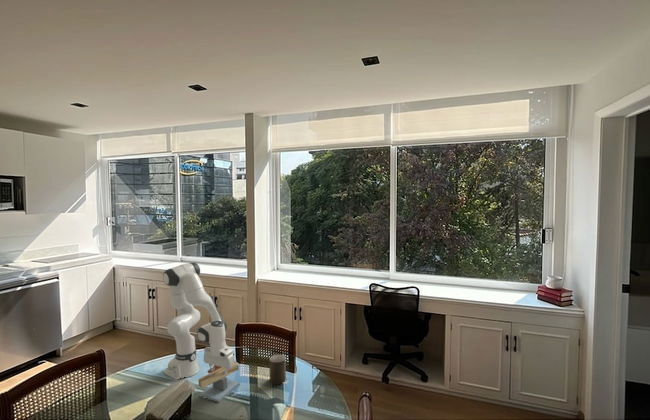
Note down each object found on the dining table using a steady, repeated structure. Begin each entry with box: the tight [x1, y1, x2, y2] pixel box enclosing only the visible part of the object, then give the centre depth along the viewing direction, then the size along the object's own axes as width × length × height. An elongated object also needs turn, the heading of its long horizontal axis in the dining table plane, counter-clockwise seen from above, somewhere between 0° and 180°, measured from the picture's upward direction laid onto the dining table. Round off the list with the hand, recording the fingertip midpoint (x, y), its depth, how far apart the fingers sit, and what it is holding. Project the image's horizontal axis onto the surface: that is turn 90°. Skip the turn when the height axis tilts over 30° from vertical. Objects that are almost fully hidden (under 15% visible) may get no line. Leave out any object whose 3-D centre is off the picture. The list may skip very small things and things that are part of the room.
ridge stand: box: [199, 376, 241, 403], centre depth 198 cm, size 14×18×8 cm
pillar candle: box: [269, 354, 287, 385], centre depth 207 cm, size 10×10×15 cm
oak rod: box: [198, 361, 240, 389], centre depth 197 cm, size 4×24×4 cm, turn 141°
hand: (219, 372), depth 197 cm, fingers open, 8 cm apart
